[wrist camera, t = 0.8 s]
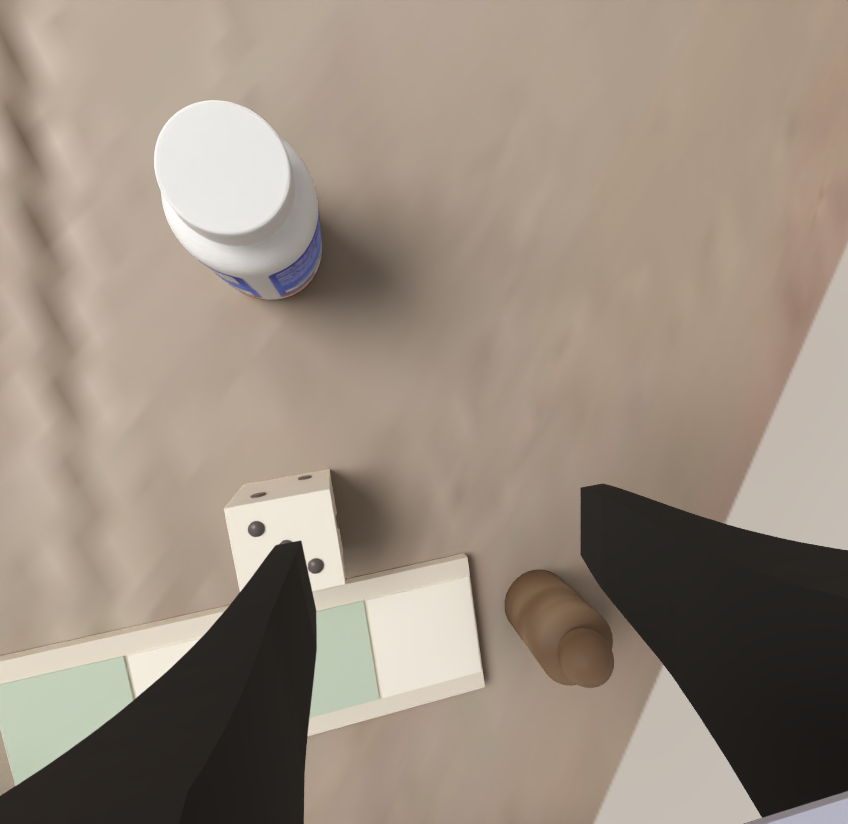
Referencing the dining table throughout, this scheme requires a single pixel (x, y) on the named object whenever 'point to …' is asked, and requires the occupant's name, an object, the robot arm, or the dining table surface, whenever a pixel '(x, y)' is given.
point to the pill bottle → (239, 198)
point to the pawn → (560, 629)
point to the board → (334, 668)
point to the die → (287, 525)
